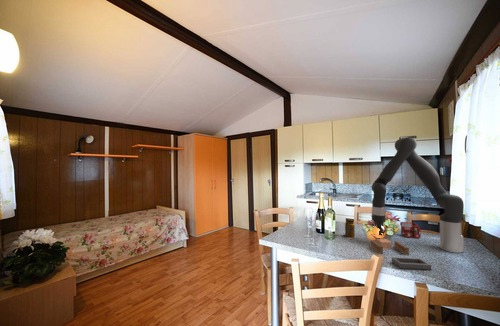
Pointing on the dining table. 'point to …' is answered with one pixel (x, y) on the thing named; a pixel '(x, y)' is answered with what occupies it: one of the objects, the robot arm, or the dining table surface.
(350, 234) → the condiment
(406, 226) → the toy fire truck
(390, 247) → the block
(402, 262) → the tray
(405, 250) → the channel
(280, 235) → the dining table surface
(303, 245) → the dining table surface
